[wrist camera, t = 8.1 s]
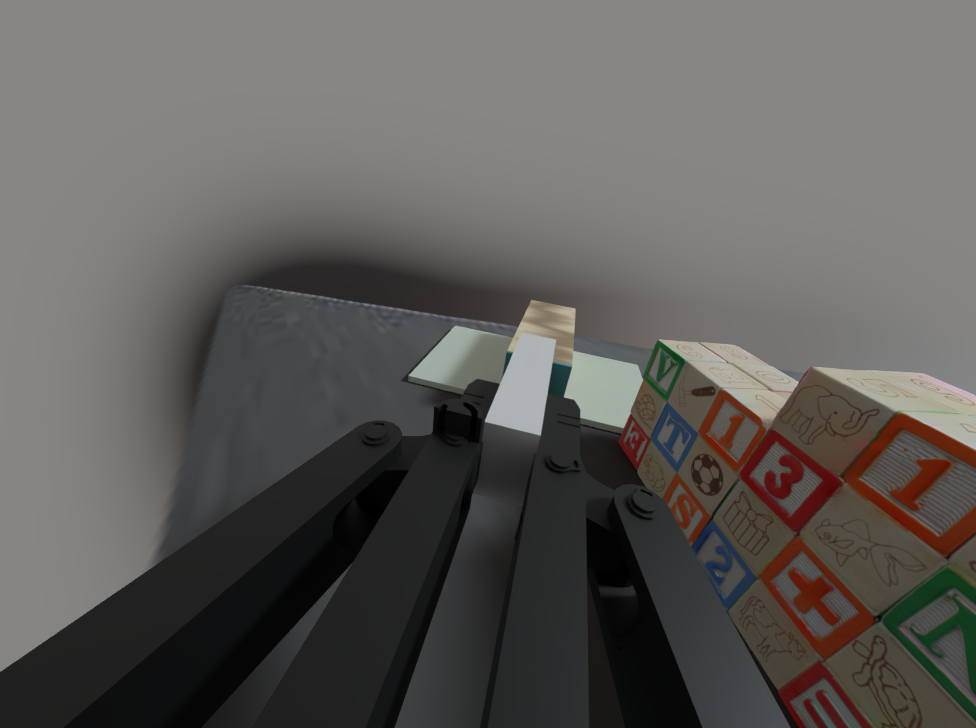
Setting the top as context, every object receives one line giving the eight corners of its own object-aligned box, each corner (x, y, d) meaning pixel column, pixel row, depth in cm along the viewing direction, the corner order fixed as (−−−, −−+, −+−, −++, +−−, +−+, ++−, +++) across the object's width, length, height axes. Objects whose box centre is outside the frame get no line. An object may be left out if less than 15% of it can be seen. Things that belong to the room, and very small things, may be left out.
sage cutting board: (635, 369, 40) (637, 365, 39) (659, 443, 28) (662, 437, 28) (455, 330, 43) (455, 325, 43) (408, 381, 31) (408, 375, 31)
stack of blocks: (614, 443, 27) (673, 293, 22) (684, 445, 28) (758, 302, 23) (975, 1012, 9) (2086, 1025, 3) (1141, 959, 10) (2206, 891, 4)
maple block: (556, 421, 28) (565, 348, 41) (572, 367, 25) (575, 308, 38) (497, 406, 28) (523, 339, 42) (506, 352, 26) (531, 299, 39)
